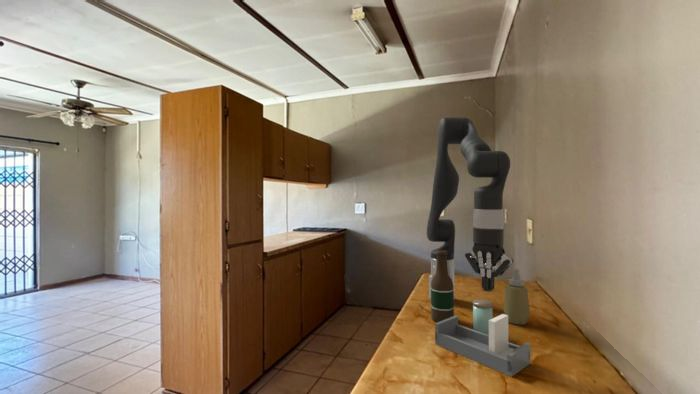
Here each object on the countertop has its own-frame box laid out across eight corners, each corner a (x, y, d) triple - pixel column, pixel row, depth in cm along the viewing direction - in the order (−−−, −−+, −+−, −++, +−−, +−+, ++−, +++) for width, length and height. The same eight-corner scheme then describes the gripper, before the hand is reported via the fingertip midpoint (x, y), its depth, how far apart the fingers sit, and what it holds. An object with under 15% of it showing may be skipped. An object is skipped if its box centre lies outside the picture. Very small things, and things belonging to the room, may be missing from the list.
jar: (469, 333, 102) (468, 301, 102) (479, 328, 105) (479, 297, 105) (486, 339, 97) (486, 306, 97) (496, 334, 101) (496, 302, 101)
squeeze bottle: (533, 327, 106) (533, 272, 106) (507, 325, 108) (506, 271, 107) (525, 318, 114) (525, 266, 114) (500, 316, 115) (500, 266, 115)
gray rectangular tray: (435, 344, 95) (435, 323, 95) (455, 334, 101) (455, 315, 101) (511, 376, 77) (511, 351, 77) (530, 363, 83) (530, 340, 83)
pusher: (488, 359, 83) (488, 320, 83) (502, 350, 88) (502, 313, 88) (506, 366, 80) (506, 325, 80) (519, 357, 84) (519, 318, 84)
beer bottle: (455, 317, 115) (454, 249, 115) (452, 325, 108) (451, 253, 108) (432, 314, 118) (432, 248, 118) (428, 322, 111) (428, 251, 111)
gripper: (458, 225, 90) (458, 287, 90) (505, 229, 79) (505, 300, 79) (473, 223, 94) (473, 282, 95) (520, 227, 84) (520, 294, 84)
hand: (488, 290), depth 87 cm, fingers closed
